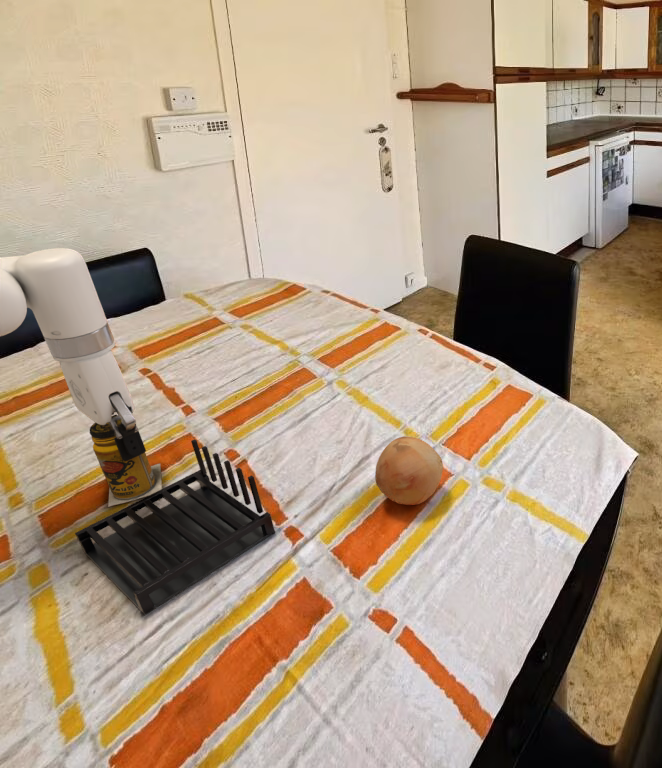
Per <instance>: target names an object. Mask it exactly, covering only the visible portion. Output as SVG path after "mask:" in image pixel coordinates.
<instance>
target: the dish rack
mask: <svg viewBox="0 0 662 768" xmlns="http://www.w3.org/2000/svg"><path fill="white" fill-rule="evenodd" d="M190 443H191V445H192V448H193V451H194V455H195V457H196V458H195V459H196V461H197V464H198V468H199V470H197V471H194V472H193V473H191V474H189V475H187V476H185V477H183V478H181V479H179V480H177V481H175V482H173V483H171V484H169V485H167V486H165V487H162V489H161V490H159V491H157V492H155V493H153V494H151V495H148V496H146V497H142V498H140V500H139V499H138V500H137V501H136V502H134V503H131V504H130V505H127V506H125V507H124V508H122V509H119V510H117V511H115V512H113V513H112V514H110V515H108V516H105V517H104V518H102V519H100V520H98V521H95V522H94V523H92V524H90V525H88V526H86V527H84V528H82V529H80V530H78V531H76V532H75V533H74V535H75V537H76V539H77V541H78V543H79V545H80V548H81V550H82V552H83V553H84V554H85V555H86V556H87V558H89V559H90V560H91V561H92V563H94V564H95V565H96V566H97V568H99V569H100V570H101V572H102V573H104V575H105V576H106V577H107V578H108V579H109V580H110V581H111V582H112V583H113V584H114V585H116V586H115V587H117V588H118V589H119V590H120V591H121V592H122V593H123V594H124V596H126V597H127V598H128V599H129V600H130V602H132V603H133V604H134V605H135V607H137V609H138V610H139V611H141V613H142V614H143V615H144V616H146V615H148V614H149V613H151V612H152V611H154V610H156V609H157V608H158V607H160V606H162V605H163V604H165V603H166V602H169V601H170V600H171V599H173V598H174V597H176V596H177V595H179V594H181V593H182V592H184V591H185V590H186V589H187V590H188V588H191V586H192V587H193V585H195V584H197V583H198V582H200V581H201V580H203V579H204V578H206V577H207V576H209V575H211V574H213V573H214V572H216V571H217V570H218V569H220V568H221V567H224V566H225V565H226V564H228V563H230V562H231V561H233V560H234V559H236V558H238V557H239V556H240V555H242V554H244V553H246V552H247V551H248V550H250V549H252V548H254V547H255V546H257V545H258V544H260V543H261V542H263V541H265V540H267V539H268V538H269V537H271V536H272V535H274V534H276V531H275V526H274V522H273V520H272V516H271V513H269V511H266V512H264V508H263V505H262V501H261V498H260V494H259V491H258V487H257V483H256V478H255V476H253V475H249V476H248V477H247V480H248V484H249V488H250V491H251V495H252V498H253V502H254V506H255V509H256V512H257V513H256V512H255V511H254V510H252V509H251V508H249V507H248V506H249V505H251V504H252V501H251V498H250V495H249V491H248V486H247V484H246V480H245V477H244V473H243V469H242V468H241V467H237V468H235V473H236V476H237V480H238V484H239V486H240V491H241V493H242V497H243V500H244V501H243V502H244V503H242V502H240V501H239V500H238V499H237V497H239V496H240V493H239V489H238V486H237V481H236V478H235V475H234V472H233V469H232V464H231V462H230V460H229V459H227V460H224V461H223V464H224V467H225V468H224V469H225V471H226V473H227V477H228V481H229V485H230V488H231V491H232V494H233V496H232V495H230V494H229V493H227V492H226V491H225V490H227V489H228V488H229V485H228V482H227V479H226V475H225V473H224V469H223V466H222V462H221V458H220V456H219V454H218V453H217V452H214V453H213V454H212V457H211V455H210V451H209V449H208V446H207V445H204V446H201V449H200V447H199V444H198V441H197V439H192V440H190ZM201 451H202V453H201ZM202 454H203V456H202ZM203 457H204V459H203ZM212 458H213V462H214V464H215V467H216V471H215V468H214V465H213V462H212ZM204 461H205V463H206V465H205V463H204ZM206 466H207V468H206ZM207 470H208V472H207ZM216 472H217V474H216ZM207 473H209V475H208V474H207ZM217 475H218V477H219V481H220V485H221V487H222V488H220V487H219V486H217V485H216V484H214V483H215V482H217V481H218V477H217ZM210 479H211V480H210ZM211 481H212V482H211ZM195 482H196V483H198V484H199V488H197V489H193V488H192V487H191V486H189V485H191V484H193V483H195ZM179 490H180V491H182V492H183V493H184V494H185V495H184V496H182V497H180V498H179V499H178V498H177V497H175V496H174V495H173V494H174V493H175V492H177V491H179ZM234 497H235V498H234ZM161 499H164V500H165V501H167V502H168V504H166V505H165V506H163V507H159V506H158V505H157V504H155V503H156V502H158V501H160V500H161ZM145 508H146V509H148V510H149V511H150V512H151V513H150V514H148V515H146V516H144V517H142V516H141V515H139V513H137V512H139V511H141V510H143V509H145ZM263 512H264V513H263ZM260 514H261V515H260ZM125 518H129V519H130V520H131V521H132V522H133V523H131V524H129V525H127V526H125V527H123V526H122V525H120V523H118V522H119V521H121V520H123V519H125ZM107 527H109V528H110V529H111V530H112V531H114V532H113V533H112V534H110V535H108V536H106V537H103V536H102V535H100V533H98V532H100V531H102V530H104V529H105V528H107Z"/></svg>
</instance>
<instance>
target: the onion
mask: <svg viewBox="0 0 662 768" xmlns="http://www.w3.org/2000/svg"><path fill="white" fill-rule="evenodd" d="M443 470H444V464H443V460H442V456H441V455H440V454H439V452H437V451H436V449H434V448H433V447H432V445H430V444H429V443H428V442H427V441H424V440H422V439H420V438H418V437H413V436H400V437H397V438H395V439H392V441H390V442H389V443H388V444H387V445H386V446H385V447H384V449H383V450H382V451H381V452H380V455H379V457H378V460H377V462H376V465H375V476H374V480H375V484H376V486H377V488H378V489H379V491H381V493H382V494H383V495H384V496H386V498H387V499H389V500H391V501H392V502H394V503H396V504H400V505H406V506H415V505H416V506H417V505H420V504H422V503H424V502H426V501H427V500H428V499H429V498H430V497H431V496H433V495H434V493H435V491H436V490H437V488H438V487H439V484H440V483H441V481H442V477H443Z"/></svg>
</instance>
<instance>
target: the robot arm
mask: <svg viewBox="0 0 662 768" xmlns="http://www.w3.org/2000/svg"><path fill="white" fill-rule="evenodd" d="M28 309H30V310H31V311H32V313H33V316H34V318H35V320H36V322H37V325H38V327H39V329H40V331H41V334H42V337H43V339H44V341H45V343H46V345H47V347H48V350H49V352H50V354H51V357H52V359H53V360H54V361H56V362H59V365H60V368H61V372H62V375H63V377H64V380H65V383H66V385H67V388H68V391H69V393H70V397H71V399H72V402H73V404H74V406H75V408H76V409H77V410H78V411H79V412H80V413H82V414H83V415H84V416H86V417H87V418H88V419H90V420H91V421H92V422H94V423H95V422H96V423H97V424H100V425H105V424H106V423H107V422H108V423H109V425H110V427H111V428H112V430H113V432H114V434H115V436H116V438H114V440H115V443H116V445H117V448H118V450H119V453H120V455H121V458H122V459H123V460H124V461H128V460H130V459H132V458H135V457H137V456H139V455H141V454H143V453H146V451H147V449H146V447H145V444H144V441H143V438H142V437H141V434H140V431H139V427H138V425H137V420H136V418H135V416H134V415H133V413H134V412H135V409H136V407H135V403H134V400H133V396H132V395H131V391H130V389H129V387H128V384H127V382H126V380H125V378H124V375H123V373H122V371H121V368H120V366H119V363H118V361H117V360H116V357H115V355H114V353H113V351H112V350H113V349H114V347H115V346H116V340H115V338H114V335H113V333H112V329H111V327H110V324H109V321H108V319H107V316H106V313H105V312H104V311H105V310H104V309H103V306H102V302H101V300H100V298H99V295H98V292H97V290H96V286H95V285H94V281H93V279H92V275H91V274H90V271H89V269H88V265H87V263H86V261H85V259H84V257H83V256H82V254H81V253H80V252H79V251H77V250H74V249H72V248H67V247H55V248H46V249H40V250H36V251H32V252H30V253H27V254H23V255H14V256H13V255H12V256H0V337H3V336H6V335H9V334H11V333H12V332H14V331H16V330H17V329H18V328H19V327H20V326H21V325H22V324H23V322H24V321H25V319H26V316H27V313H28ZM112 416H115V417H113V418H111V417H112ZM120 419H121V421H122V424H121V425H120V426H119V429H118V427H117V425H116V423H115V421H118V420H120Z"/></svg>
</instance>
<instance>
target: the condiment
mask: <svg viewBox="0 0 662 768" xmlns="http://www.w3.org/2000/svg"><path fill="white" fill-rule="evenodd" d="M113 417H115V416H113V415H112V417H111V418H113ZM115 423H116V425H117V427H118V429H119V426H120V425H121V424H122V421H121V419H120V420H118V421H115ZM89 435H90V436H91V440H92V442H93V445H92V449H93V452H94V454H95V457H96V458H97V461H98V464H99V467H100V468H101V471H102V474H103V476H104V478H105V481H106V483H107V484H108V488H109V489H108V501H107V503H108V504H107V505H108V506H107V507H108V508H109V507H113V506H116V505H121V504H125V503H128V502H133V501H136V500H139V499H143V498H145V497H147V496H149V495H151V494H153V493H155V492H157V491H159V490H161V489H163V484H162V483H163V481H162V469H161V468H162V467H161V463H160V462H159V463H156V464H154V465H151V464H150V460H149V459H148V456H147V454H146V452H145V453H143V454H141V455H139V456H137V457H135V458H132V459H130V460H128V461H124V460H123V459H122V458H121V455H120V453H119V450H118V448H117V445H116V443H115V440H114V438H116V436H115V434H114V432H113V430H112V428H111V427H110V425H109V423H108V422H107V423H106V424H105V425H100V424H97V423H96V422H94V423H93V424H92V425H91V426H90V427H89Z"/></svg>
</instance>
